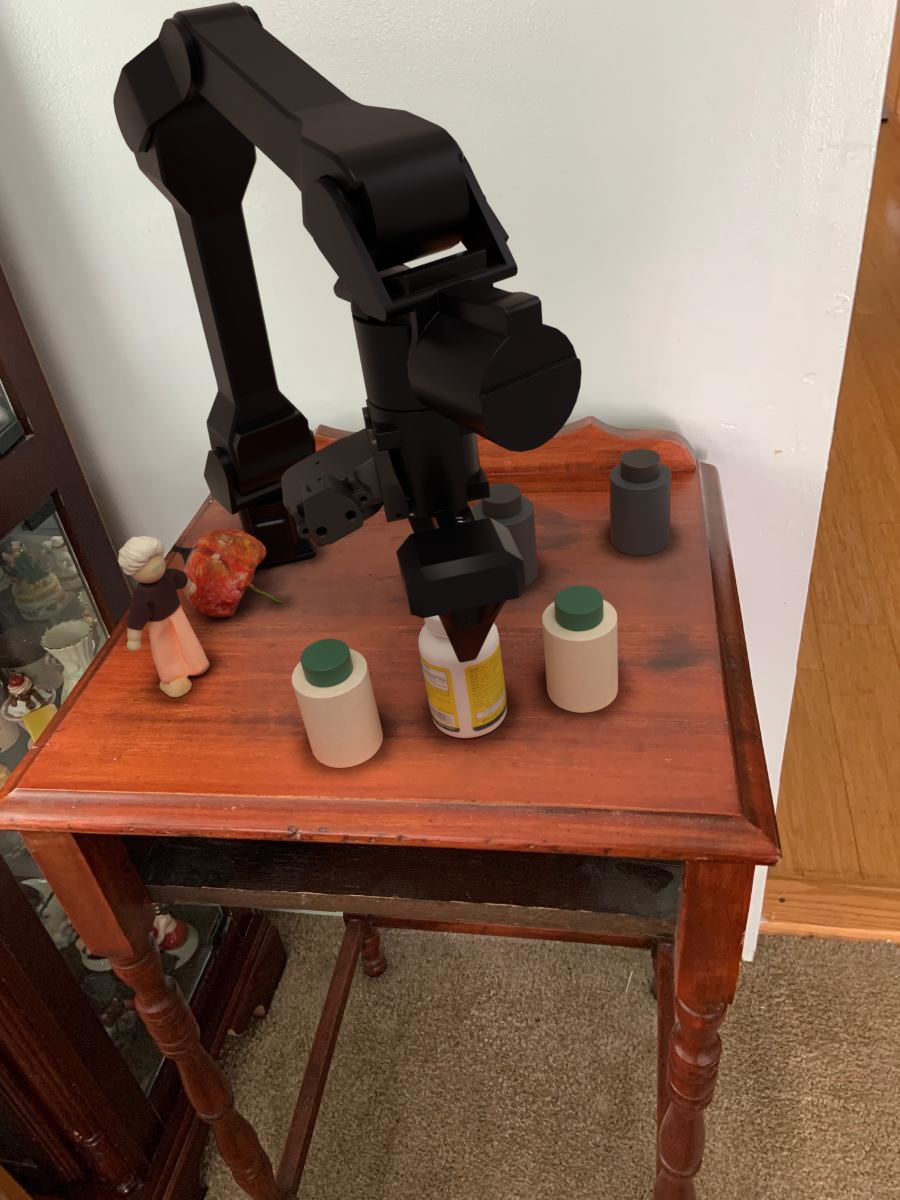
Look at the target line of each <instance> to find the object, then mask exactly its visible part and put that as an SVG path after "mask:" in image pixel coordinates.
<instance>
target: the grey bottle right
mask: <svg viewBox="0 0 900 1200" xmlns="http://www.w3.org/2000/svg"><path fill="white" fill-rule="evenodd" d="M661 459H662V458H661V455H660V454H659V453H658V452H657V451H655V450H653V449H649V448H635V449H634V448H633V449H631V450H627V451H626V452H624V453H623V454H621V456H620V460H619V461H620V462H619V464H617V465H616V466H614V467H612V469H611V471H610V472H609V523H610V524H609V525H610V526H609V527H610V528H609V529H610V530H609V531H610V534H609V535H610V544H611V546H612V547H613V548H614V549H615V550H617V551H618V552H620V553H622V554H625V555H629V556H635V557H636V556H637V557H638V556H639V557H641V556H642V557H644V556H650V555H654V554H657V553H660V552H661V551H663V550H664V549H665V548H667V547H668V545H669V543H670V537H671V535H670V531H671V505H672V504H671V503H672V502H671V501H672V500H671V498H672V471H671V469H670V468H669V467H668V466H667V465H666V464H664V463H662V462H661Z"/></svg>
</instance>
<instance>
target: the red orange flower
mask: <svg viewBox="0 0 900 1200" xmlns="http://www.w3.org/2000/svg"><path fill="white" fill-rule="evenodd" d="M172 553H178V554H180V555H181V558H182V561H183V562H182V563H183V570H182V571H183V572H185V573H186V575H187V577H188V578H189V579H190V581H191V582H192V583H194V584H195V585H196V588H197V589H196V592H195V593H194V594H192V595H187V594H185V593H184V592H183V593H184V596H185V598H186V600H187V601H188V602H189V603H190V604H191V606H192V607H193V608H194V609H195V610H197V611H198V612H199V613H201V614H202V615H206V616H209V617H216V618H228V617H230V616H234V614H235V612H236V610H237V608H238V606H239V604H240V601H241V600H242V599H243V596H244V593H245V590H246V589H249V590H251V591H252V592H254V593H255V594H257V595H260V596H264V597H266V598H268V599H270V600H272V601H274V602H276V603H278V604H280V605H281V604H282V601H280V600H278V599H276V598H275V597H273V596H271V594H268V593H267V592H265V591H263V590H260V589H258V588H257V587H256V586H255V585H253V584H252V582H253V581H254V579H255V572H256V570H257V569H256V567H257V566H258V565H259V564H260V563H261V562H262V560H263V559H264V557H265V555H266V548H265V547H264V545H263V544H262V543H261V542H260V541H258V540H257V539H255V537H253V536H251V535H249V534H247V533H245V532H244V531H243V530H242V529H241V530H240V529H238V528H237V529H236V528H226V529H225V528H223V529H215V530H212V531H210V532H208V533H206V534H205V535H204V536H201V537H200V538H199V539H198V540H197V542H196V543H194V545H193V547H185V546H179V545H177V544H176V543H174V544H173V545H172V547H171V549H169V551H168V554H172Z"/></svg>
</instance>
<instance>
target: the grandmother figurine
mask: <svg viewBox="0 0 900 1200" xmlns="http://www.w3.org/2000/svg"><path fill="white" fill-rule="evenodd" d="M165 547H166V546H164V543H163V542H162V541H161V540H160V539H158V538H156V537H153V536H147V535H141V536H132V537H131V538H130V539H128V540H127V541H126V542H125V543H124V545H123V546H122V547H121V548H120V549H119V550H118V558H117V559H118V561H117V562H118V564H119V566H120V567H121V569H122V571H123V573H125V574H126V575H127V576H131V577H132V578H133V580H135V581H137V582H138V583H137V585H136V586H135V587H134V588H133V590H132V596H131V600H130V605H129V611H128V616H127V621H126V628H127V629H126V631H127V632H126V634H127V635H126V637H127V639H128V640H127V642H126V648H127V650H128V651H129V652H132V653H135V652H138V651H140V650H141V649H142V640H141V639H142V638H143V632H144V631H143V630H144V628H145V626H146V627H147V629H148V637H149V644H150V652H151V656H152V660H153V663H154V665H155V668H156V671H157V674H158V678H159V680H160V683H159V689H160V690H161V691H162V692H163V693H164V694H166V695H167V696H169V697H170V698H179V697H183V696H184V695H186V694H187V693H188V692H189V691H190V690H191V689H192V686H193V683H192V681H191V680H190V679H189V678H188V677H190V676H191V677H197V676H200V675H202V674H204V673H206V672H207V670H208V669H209V668H210V661H209V660H208V657H207V656H206V653H205V651H204V649H203V647H202V645H201V642H200V640H199V639H198V637H197V635H196V633H195V631H194V629H193V628H192V625H191V623H190V621H189V619H188V618H187V615H186V614H185V612H184V610H183V606H182V602H181V600H180V597H179V592H178V590H181V591H182V592H183V593H185V594H187V595H192V594H194V593H195V592H196V589H197V588H196V585H195V584H194V583H192V582H191V581H190V579H189V578H188V577H187V575H186V573H185V572H183V571H184V570H181V569H179V568H174V567H168V568H167V565H166V559H165V558H164V553H165V552H166V548H165ZM185 594H184V595H185Z"/></svg>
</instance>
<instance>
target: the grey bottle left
mask: <svg viewBox="0 0 900 1200" xmlns="http://www.w3.org/2000/svg"><path fill="white" fill-rule="evenodd" d="M489 490H490V497H489V498H484V499H479V500H477V502H475V504H474V505H473V506H472V507H471V509H472V511H473V514H474V516H475V518H476V520H480V519H485V518H492V519H493V520H495V521H497V522H498V523H500V524H502V525H503V526H505V527H506V528H508V530H509V532H510V534H511V536H512V538H513V540H514V542H515V544H516V546H517V548H518V550H519V552H520V554H521V556H522V559H523V561H524V570H525V582H526V588H527V587H529V586H530V585H532V584H533V583H534V582H536V580H537V579H538V576H539V564H538V563H539V562H538V551H537V549H538V548H537V537H536V535H537V534H536V522H535V509H534V504H533V502H532V501H531V500H530V498H528V497H526V496H524V495H523V494H522V491H521V488H520V487H519V486H518V485H516V484H514V483H509V482H499V483H493V484H489Z"/></svg>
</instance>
